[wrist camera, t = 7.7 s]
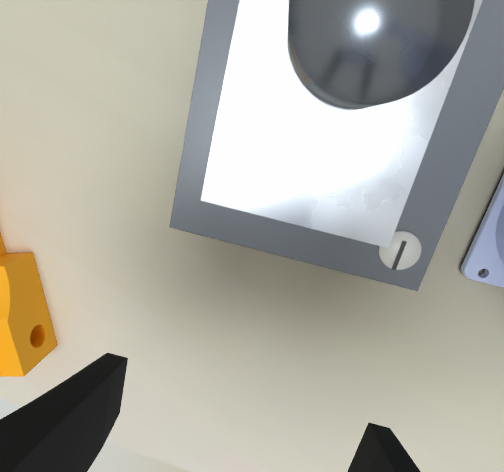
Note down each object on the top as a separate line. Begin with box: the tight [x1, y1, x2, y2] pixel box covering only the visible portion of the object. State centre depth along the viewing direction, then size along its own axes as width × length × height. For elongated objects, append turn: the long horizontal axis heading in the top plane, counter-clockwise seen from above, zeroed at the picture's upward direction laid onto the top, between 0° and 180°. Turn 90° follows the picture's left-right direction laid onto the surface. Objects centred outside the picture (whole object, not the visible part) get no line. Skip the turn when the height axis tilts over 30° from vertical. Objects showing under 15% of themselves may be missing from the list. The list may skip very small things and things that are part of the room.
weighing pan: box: [201, 0, 483, 248], centre depth 13 cm, size 8×13×1 cm, turn 167°
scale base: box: [170, 0, 504, 291], centre depth 15 cm, size 12×15×3 cm
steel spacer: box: [286, 0, 475, 113], centre depth 10 cm, size 4×4×5 cm
